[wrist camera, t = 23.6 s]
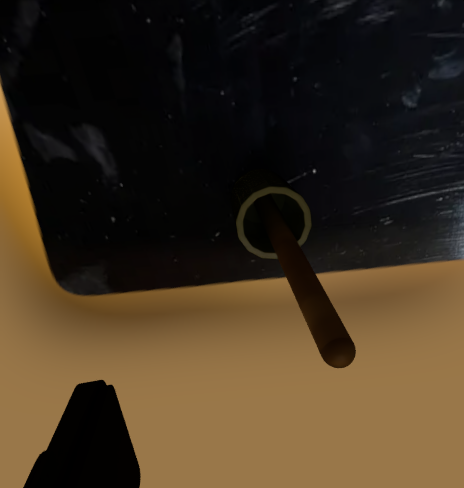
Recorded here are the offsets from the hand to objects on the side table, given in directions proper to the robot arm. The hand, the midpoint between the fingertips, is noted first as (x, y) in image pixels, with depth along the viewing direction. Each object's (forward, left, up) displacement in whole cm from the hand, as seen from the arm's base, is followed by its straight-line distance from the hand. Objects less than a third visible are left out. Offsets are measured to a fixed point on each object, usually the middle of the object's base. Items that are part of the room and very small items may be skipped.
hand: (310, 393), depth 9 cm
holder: (+1, 0, -21) cm, 21 cm away
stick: (+1, 0, -20) cm, 20 cm away
